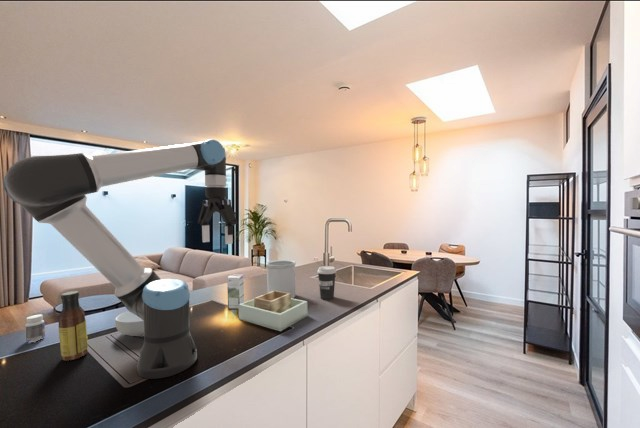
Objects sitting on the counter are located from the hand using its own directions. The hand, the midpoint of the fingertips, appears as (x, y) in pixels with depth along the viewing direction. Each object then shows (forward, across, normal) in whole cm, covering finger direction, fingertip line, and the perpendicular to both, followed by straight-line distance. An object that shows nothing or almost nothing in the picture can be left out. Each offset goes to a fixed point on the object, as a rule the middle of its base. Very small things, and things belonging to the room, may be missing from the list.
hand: (217, 242), depth 107 cm
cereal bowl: (+32, +19, +18) cm, 41 cm away
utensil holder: (+32, +2, -39) cm, 50 cm away
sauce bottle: (+32, +19, +38) cm, 53 cm away
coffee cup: (+32, -19, -49) cm, 61 cm away
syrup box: (+32, +10, -17) cm, 38 cm away
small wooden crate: (+31, -13, -16) cm, 37 cm away
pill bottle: (+32, +45, +41) cm, 69 cm away
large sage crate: (+32, -13, -16) cm, 38 cm away
